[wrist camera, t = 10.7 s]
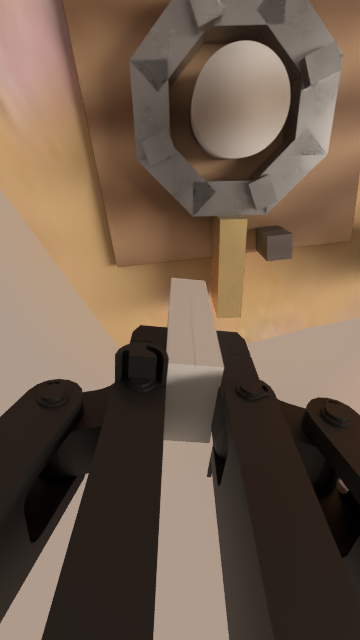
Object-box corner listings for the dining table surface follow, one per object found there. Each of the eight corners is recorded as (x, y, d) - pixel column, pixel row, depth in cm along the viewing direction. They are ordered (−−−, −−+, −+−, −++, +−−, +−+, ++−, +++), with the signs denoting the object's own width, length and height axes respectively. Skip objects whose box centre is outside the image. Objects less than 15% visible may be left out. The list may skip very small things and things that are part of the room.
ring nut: (129, -3, 21) (117, -47, 17) (334, -8, 21) (376, -54, 17) (150, 297, 31) (146, 320, 27) (292, 293, 31) (311, 315, 27)
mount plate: (55, -51, 21) (4, -143, 15) (386, -102, 20) (479, -221, 14) (118, 264, 31) (104, 289, 25) (345, 238, 30) (390, 257, 24)
